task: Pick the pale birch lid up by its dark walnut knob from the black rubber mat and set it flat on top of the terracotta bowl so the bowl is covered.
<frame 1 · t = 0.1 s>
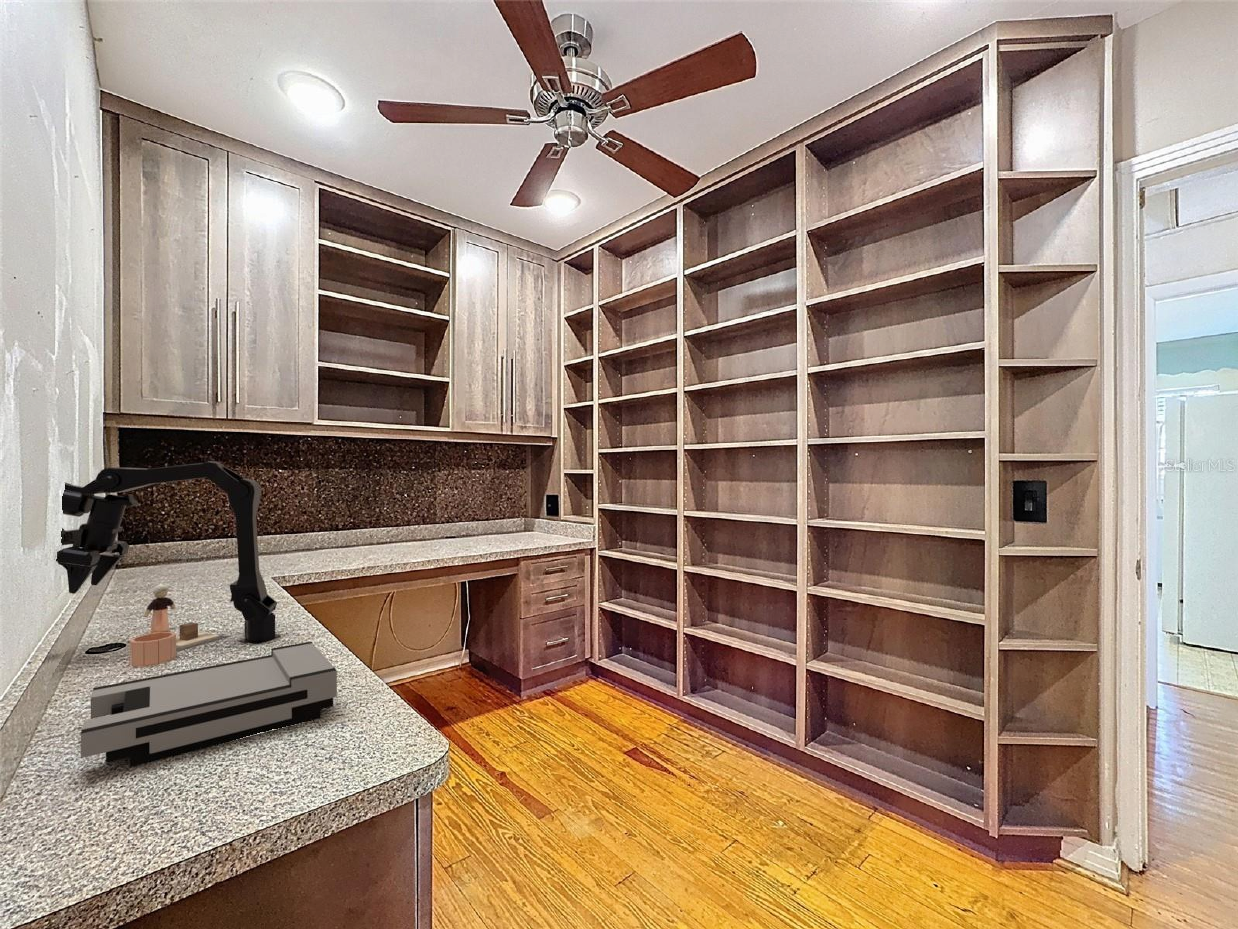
hand: (83, 589, 128), 15 cm above the table, tool pointing down, fingers open, 9 cm apart
mat: (188, 642, 139), on the table
lid: (188, 641, 139), resting on mat
grandmother figurine: (161, 634, 147), on the table
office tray: (217, 725, 96), on the table
bowl: (153, 662, 125), on the table
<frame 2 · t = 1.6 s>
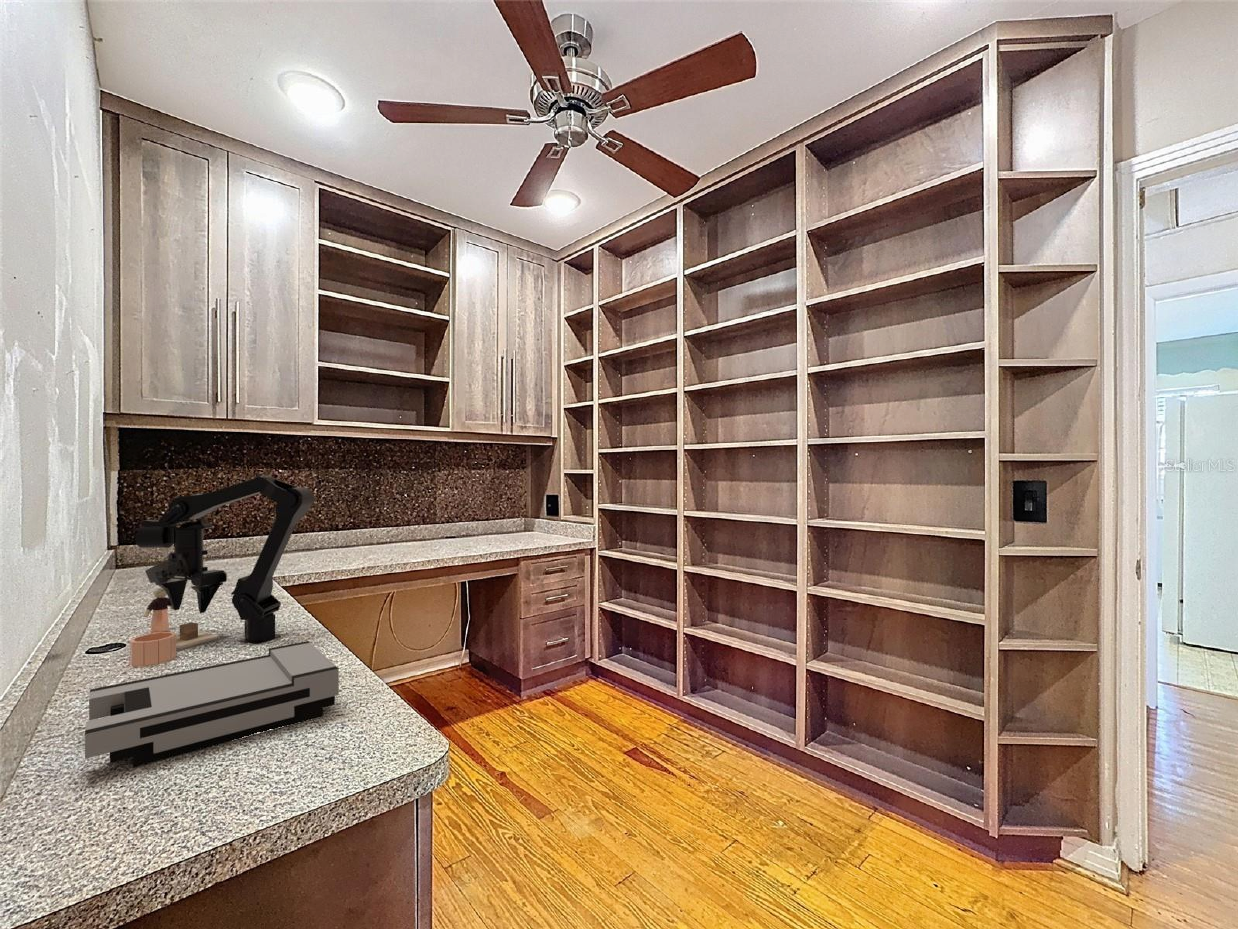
hand: (189, 611, 139), 8 cm above the table, tool pointing down, fingers open, 9 cm apart
nothing on the table moved.
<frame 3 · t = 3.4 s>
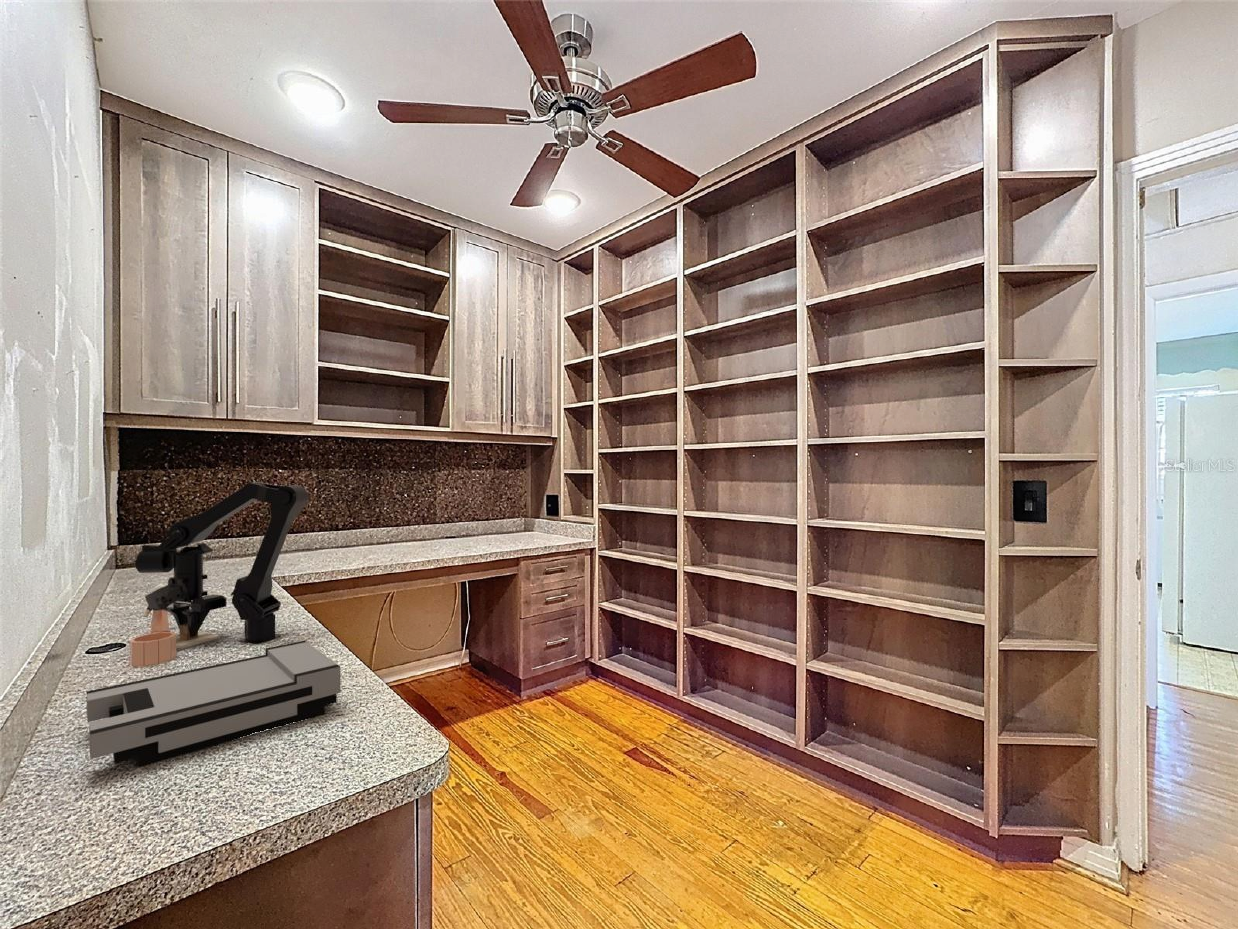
hand: (188, 636, 139), 2 cm above the table, tool pointing down, fingers closed on lid, 3 cm apart
lid: (188, 641, 139), resting on mat, touching gripper
everything else where it was.
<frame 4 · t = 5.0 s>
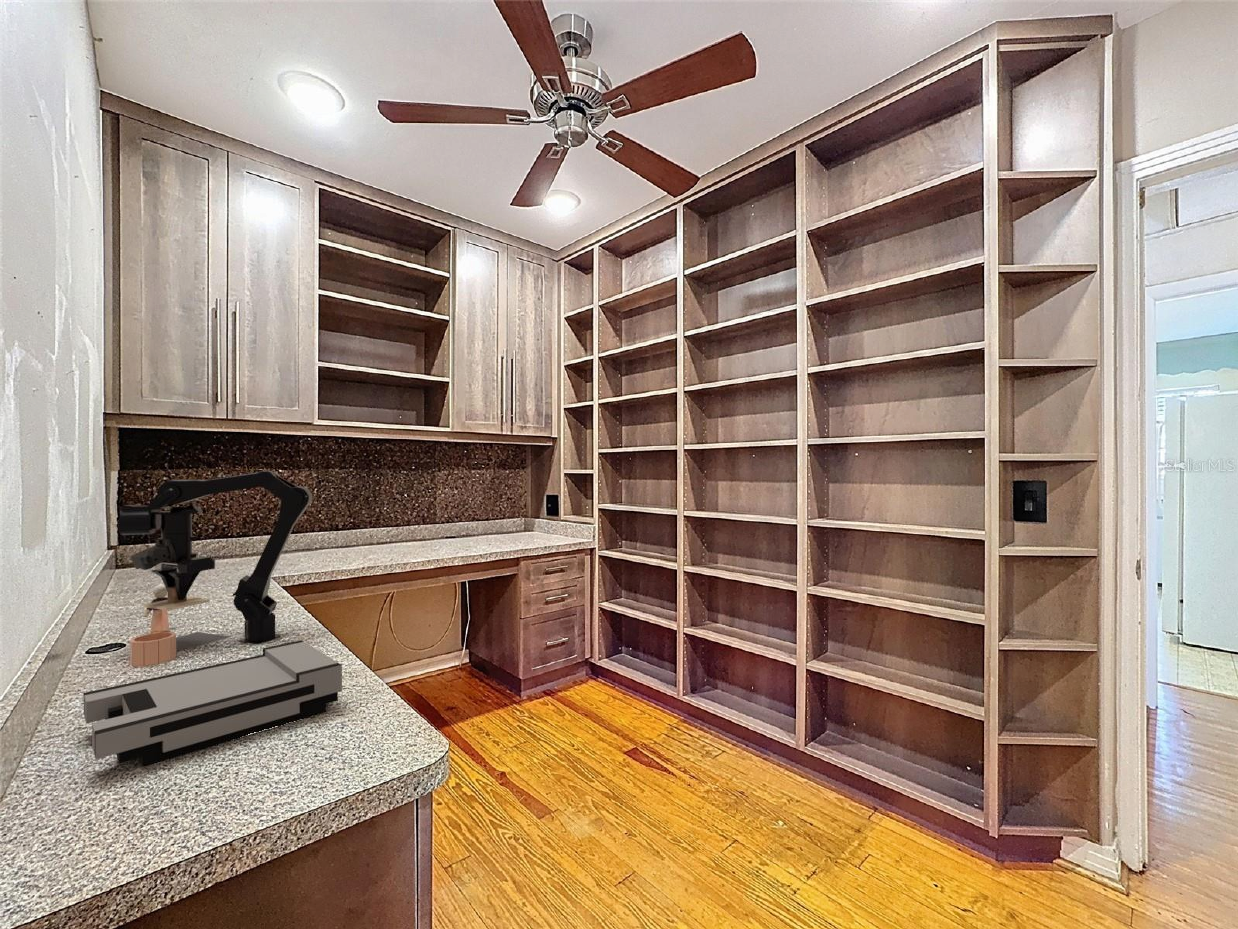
hand: (177, 599, 134), 12 cm above the table, tool pointing down, fingers closed on lid, 3 cm apart
lid: (177, 604, 134), point 10 cm above the table, touching gripper
when the fingers open (8 cm above the table, at t = 6.6 s): lid drops 1 cm, resting on bowl.
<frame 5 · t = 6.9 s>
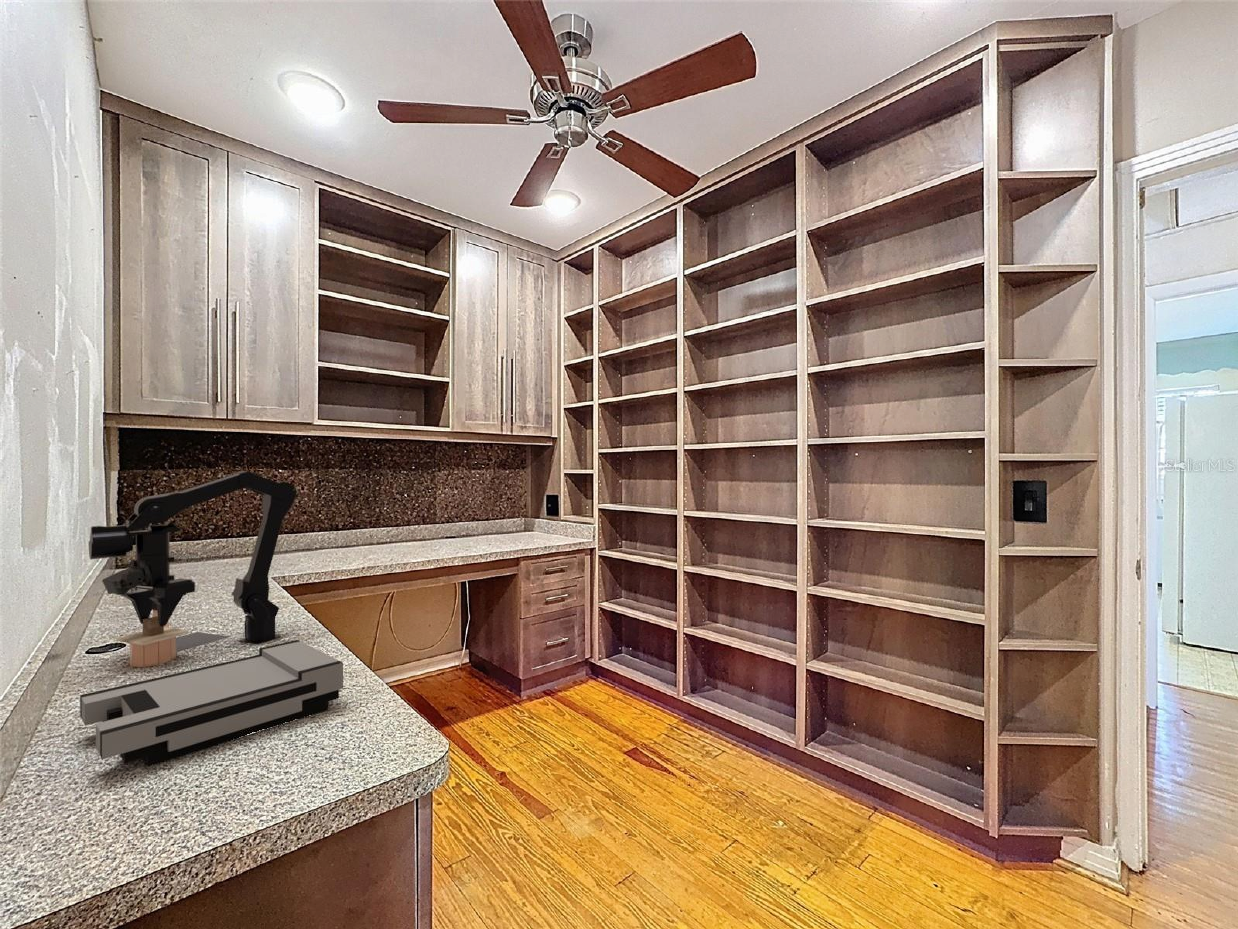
hand: (153, 624, 125), 8 cm above the table, tool pointing down, fingers open, 6 cm apart
lid: (153, 637, 125), point 5 cm above the table, touching bowl
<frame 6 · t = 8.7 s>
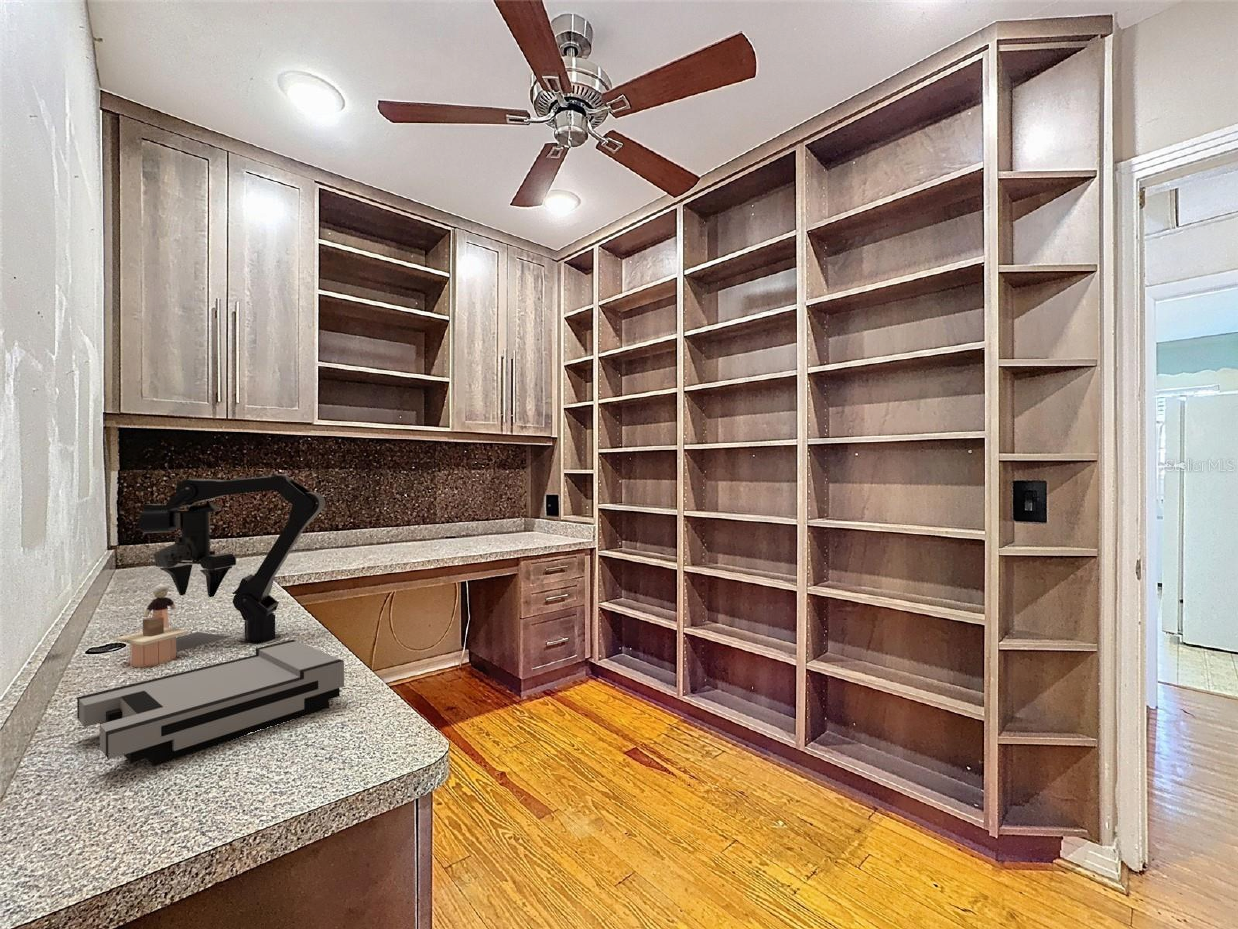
hand: (196, 596, 137), 12 cm above the table, tool pointing down, fingers open, 9 cm apart
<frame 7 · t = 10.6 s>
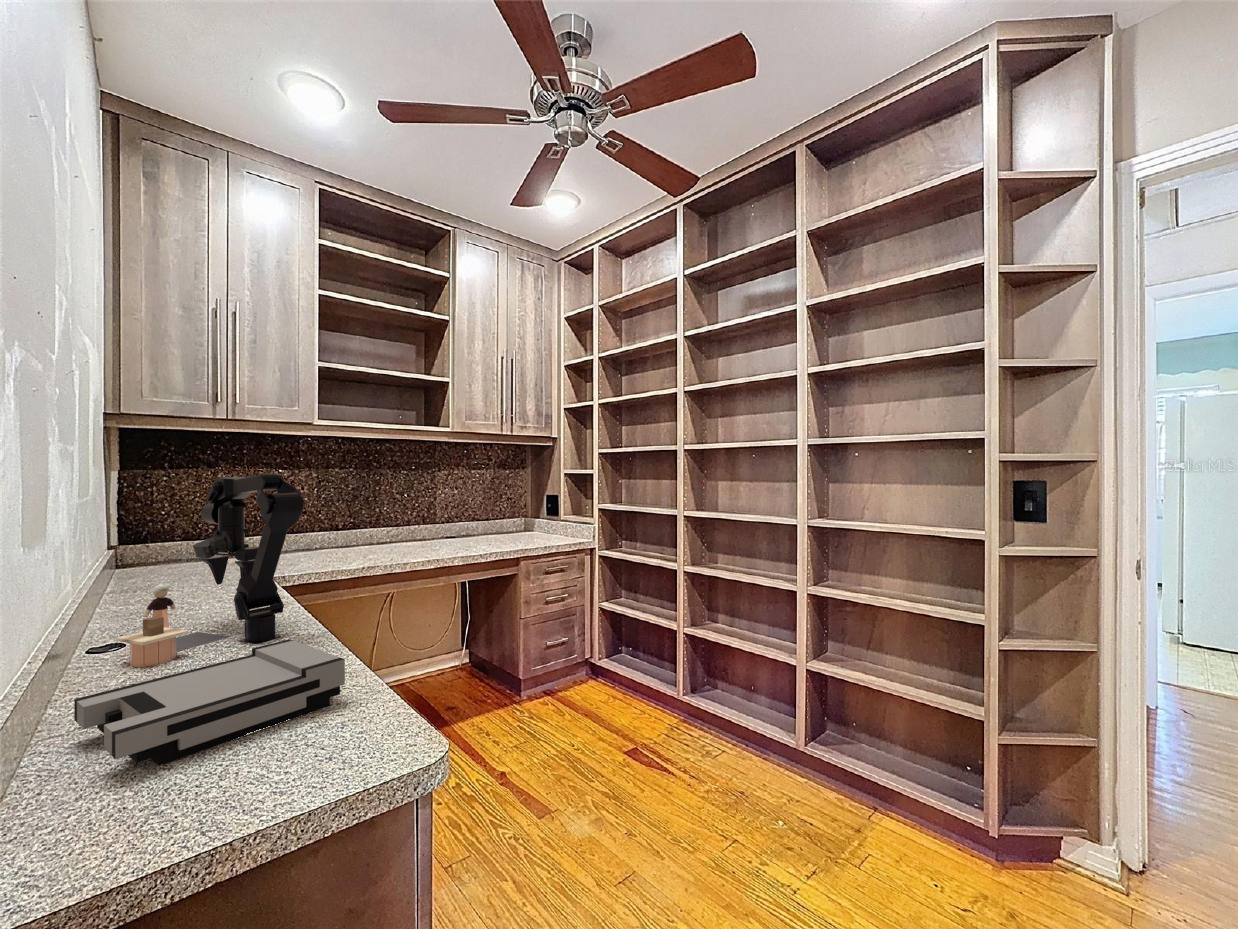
hand: (231, 585, 148), 12 cm above the table, tool pointing down, fingers open, 9 cm apart
at the end: lid 0.0 cm off-centre on the bowl, point 5.5 cm above the bowl's base; lid tilted 0°; the gripper is holding nothing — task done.
